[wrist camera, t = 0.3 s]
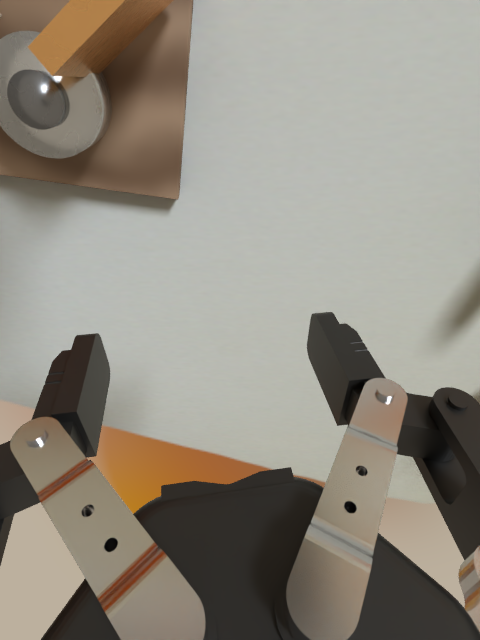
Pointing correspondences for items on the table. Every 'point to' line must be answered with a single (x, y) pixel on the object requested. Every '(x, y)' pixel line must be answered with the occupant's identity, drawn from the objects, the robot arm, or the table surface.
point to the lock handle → (67, 74)
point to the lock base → (120, 108)
